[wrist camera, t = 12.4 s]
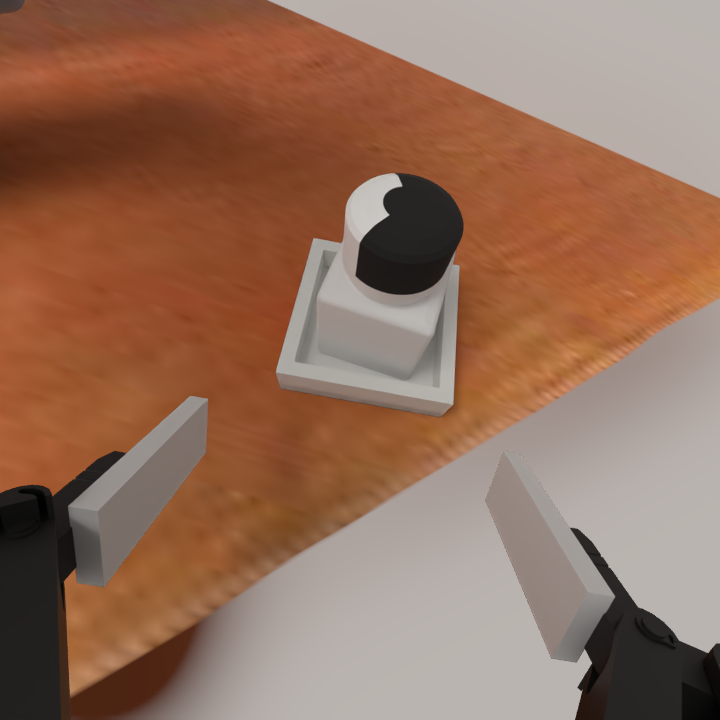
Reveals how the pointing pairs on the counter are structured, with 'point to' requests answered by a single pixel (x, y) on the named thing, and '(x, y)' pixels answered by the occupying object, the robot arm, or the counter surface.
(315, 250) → the grey square tray
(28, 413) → the counter surface
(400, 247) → the medicine bottle
